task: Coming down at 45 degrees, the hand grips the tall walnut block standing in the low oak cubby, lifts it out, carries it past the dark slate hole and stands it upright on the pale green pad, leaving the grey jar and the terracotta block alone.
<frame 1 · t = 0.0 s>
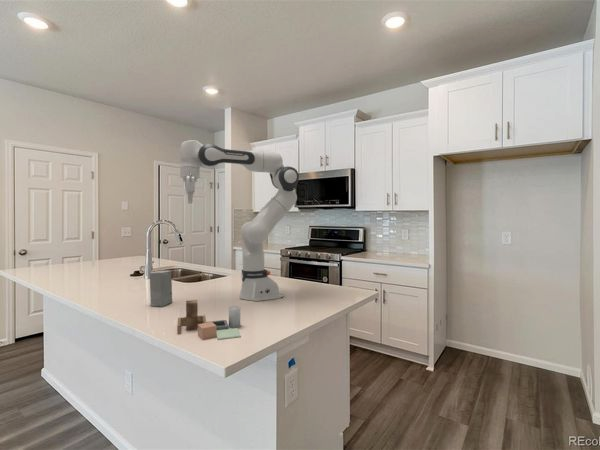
hand: (190, 203, 158), 48 cm above the countertop, tool pointing down, fingers open, 8 cm apart
terracotta block: (207, 336, 116), on the countertop
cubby: (191, 327, 123), on the countertop
walnut block: (191, 314, 123), in the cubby
grey jar: (234, 326, 126), on the countertop
hole frame: (217, 327, 124), on the countertop
skincare box: (161, 304, 155), on the countertop
green pad: (227, 334, 117), on the countertop
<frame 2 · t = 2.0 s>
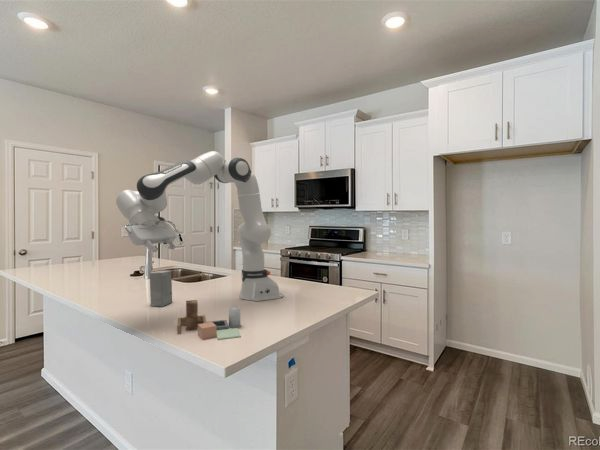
hand: (165, 249, 126), 29 cm above the countertop, tool tilted 45°, fingers open, 8 cm apart
nothing on the countertop moved.
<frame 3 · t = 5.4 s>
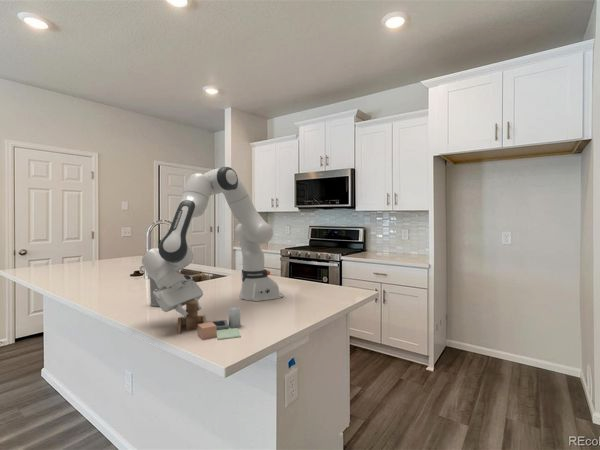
hand: (193, 312, 123), 6 cm above the countertop, tool tilted 45°, fingers closed on walnut block, 6 cm apart
walnut block: (191, 314, 123), in the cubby, touching gripper
everything else where it was.
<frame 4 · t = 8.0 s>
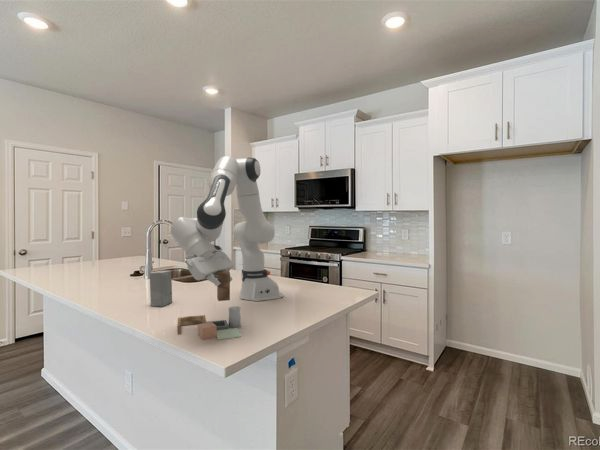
hand: (225, 282, 117), 18 cm above the countertop, tool tilted 45°, fingers closed on walnut block, 6 cm apart
walnut block: (223, 285, 117), point 18 cm above the countertop, touching gripper
everything else where it was.
when the fingers open (8 cm above the countertop, at t = 10.7 s): walnut block drops 1 cm, resting on green pad.
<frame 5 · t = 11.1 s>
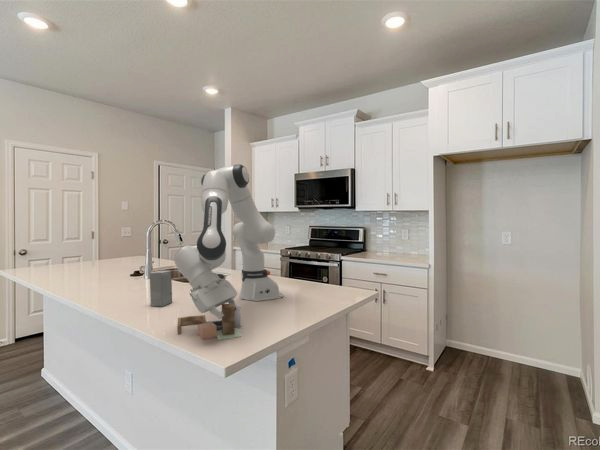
hand: (229, 313, 117), 8 cm above the countertop, tool tilted 45°, fingers open, 8 cm apart
walnut block: (228, 319, 117), on the green pad
everything else where it was.
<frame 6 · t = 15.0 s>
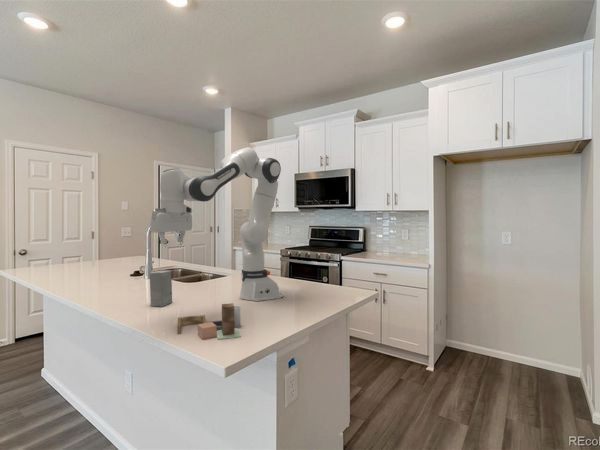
hand: (172, 242, 133), 31 cm above the countertop, tool pointing down, fingers open, 8 cm apart
nothing on the countertop moved.
at the end: walnut block inside the target area on the green pad (0.1 cm from its centre), point 5.5 cm above the green pad's base; walnut block tilted 0°; the gripper is holding nothing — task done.
